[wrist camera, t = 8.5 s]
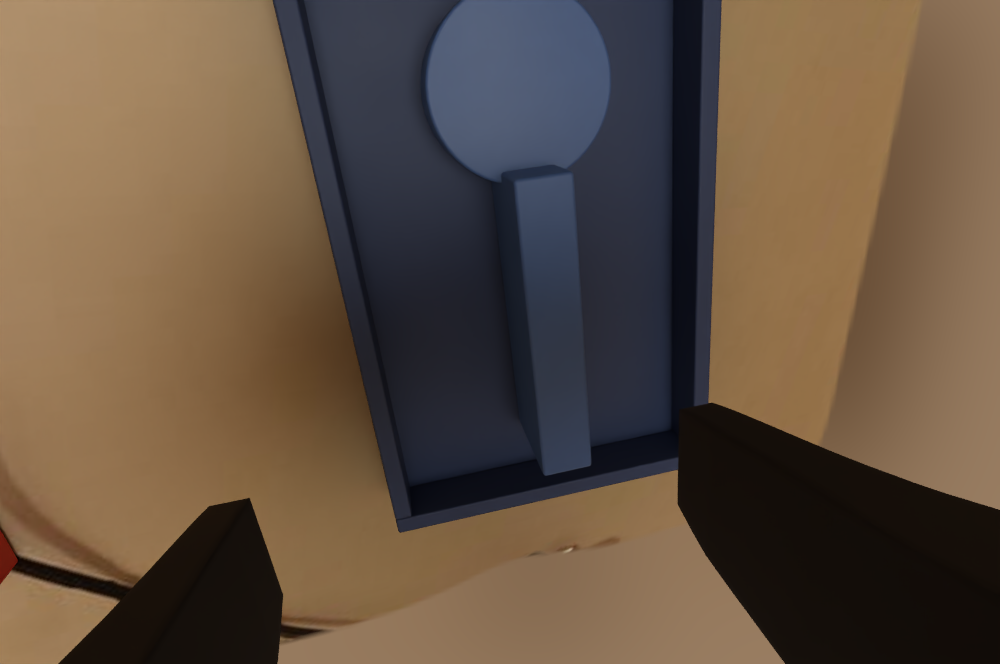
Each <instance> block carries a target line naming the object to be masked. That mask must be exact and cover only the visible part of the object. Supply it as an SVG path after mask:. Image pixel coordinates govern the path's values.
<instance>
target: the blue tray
mask: <svg viewBox="0 0 1000 664" xmlns="http://www.w3.org/2000/svg"><path fill="white" fill-rule="evenodd" d="M459 1H460V0H273V4H274V8H275V12H276V16H277V21H278V25H279V29H280V33H281V37H282V42H283V46H284V50H285V54H286V59H287V63H288V67H289V71H290V75H291V80H292V84H293V88H294V92H295V97H296V101H297V105H298V109H299V113H300V118H301V122H302V126H303V130H304V135H305V139H306V143H307V147H308V151H309V156H310V160H311V164H312V168H313V173H314V177H315V181H316V185H317V189H318V194H319V198H320V202H321V206H322V211H323V215H324V219H325V223H326V227H327V232H328V236H329V240H330V244H331V249H332V253H333V257H334V261H335V265H336V270H337V274H338V278H339V282H340V287H341V291H342V295H343V299H344V303H345V308H346V312H347V316H348V320H349V325H350V329H351V333H352V337H353V341H354V346H355V350H356V354H357V358H358V363H359V367H360V371H361V375H362V379H363V384H364V388H365V392H366V396H367V401H368V405H369V409H370V413H371V417H372V422H373V426H374V430H375V434H376V439H377V443H378V447H379V451H380V455H381V460H382V464H383V468H384V472H385V477H386V481H387V485H388V489H389V493H390V498H391V502H392V506H393V510H394V515H395V518H396V523H397V527H398V531H399V532H400V533H401V532H405V531H410V530H414V529H419V528H423V527H427V526H432V525H436V524H441V523H445V522H449V521H454V520H458V519H463V518H467V517H471V516H476V515H480V514H484V513H489V512H493V511H498V510H502V509H506V508H511V507H515V506H520V505H524V504H528V503H533V502H537V501H542V500H546V499H550V498H555V497H559V496H564V495H568V494H572V493H577V492H581V491H586V490H590V489H594V488H599V487H603V486H608V485H612V484H616V483H621V482H625V481H630V480H634V479H638V478H643V477H647V476H652V475H656V474H660V473H665V472H669V471H674V470H678V450H679V409H683V408H688V407H693V406H698V405H703V404H708V395H709V365H710V335H711V304H712V274H713V244H714V213H715V183H716V153H717V122H718V92H719V62H720V31H721V1H722V0H577V1H578V2H579V3H580V4H581V5H582V6H583V7H584V8H585V9H586V10H587V12H588V13H589V14H590V15H591V17H592V18H593V20H594V21H595V23H596V25H597V26H598V28H599V30H600V33H601V35H602V37H603V39H604V42H605V45H606V48H607V52H608V56H609V61H610V69H611V92H610V99H609V105H608V109H607V113H606V116H605V119H604V121H603V124H602V127H601V129H600V131H599V133H598V134H597V136H596V138H595V140H594V141H593V143H592V144H591V146H590V147H589V149H588V150H587V151H586V152H585V153H584V154H583V156H582V157H581V158H580V159H579V160H578V161H576V162H575V163H574V164H573V165H572V166H571V167H569V168H568V169H567V170H569V171H572V172H573V174H574V190H575V206H576V222H577V238H578V254H579V271H580V287H581V303H582V319H583V335H584V351H585V367H586V383H587V399H588V416H589V432H590V448H591V465H590V466H588V467H583V468H579V469H574V470H570V471H565V472H561V473H556V474H552V475H547V476H546V475H544V474H543V473H542V470H541V468H540V466H539V464H538V461H537V459H536V457H535V454H534V452H533V450H532V448H531V445H530V443H529V441H528V439H527V436H526V434H525V432H524V430H523V427H522V425H521V423H520V420H519V412H518V403H517V395H516V386H515V378H514V369H513V361H512V352H511V344H510V335H509V327H508V318H507V310H506V301H505V293H504V284H503V276H502V267H501V259H500V250H499V242H498V233H497V225H496V216H495V208H494V199H493V191H492V182H491V181H490V180H487V179H484V178H482V177H480V176H478V175H476V174H474V173H473V172H471V171H470V170H468V169H467V168H465V167H464V166H463V165H461V164H460V163H459V162H458V161H456V160H455V159H454V158H453V157H452V156H451V155H450V154H448V153H447V151H446V150H445V149H444V148H443V147H442V146H441V144H440V143H439V141H438V140H437V138H436V137H435V135H434V134H433V132H432V130H431V128H430V126H429V124H428V121H427V118H426V115H425V112H424V108H423V104H422V98H421V88H420V84H421V69H422V63H423V59H424V55H425V51H426V48H427V46H428V44H429V41H430V39H431V37H432V35H433V33H434V32H435V30H436V28H437V26H438V25H439V24H440V23H441V21H442V20H443V19H444V17H445V16H446V15H447V14H448V13H449V12H450V10H451V9H452V8H453V7H454V6H455V5H456V4H457V3H458V2H459Z"/></svg>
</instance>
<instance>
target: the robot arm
mask: <svg viewBox="0 0 1000 664" xmlns="http://www.w3.org/2000/svg"><path fill="white" fill-rule="evenodd" d="M678 506H679V508H680V509H681V511H682V513H683V515H684V517H685V519H686V521H687V523H688V524H689V526H690V528H691V530H692V532H693V534H694V535H695V537H696V539H697V541H698V542H699V544H700V546H701V548H702V549H703V551H704V553H705V555H706V556H707V557H708V559H709V560H710V562H711V563H712V565H713V566H714V567H715V569H716V570H717V571H718V573H719V574H720V576H721V577H722V578H723V580H724V581H725V582H726V584H727V585H728V587H729V588H730V589H731V591H732V592H733V594H734V595H735V596H736V598H737V599H738V600H739V602H740V603H741V604H742V606H743V607H744V609H745V610H746V611H747V613H748V614H749V615H750V617H751V618H752V619H753V621H754V622H755V623H756V625H757V626H758V627H759V629H760V630H761V632H762V633H763V634H764V636H765V637H766V638H767V640H768V641H769V642H770V644H771V645H772V646H773V648H774V649H775V651H776V652H777V653H778V655H779V656H780V657H781V658H782V660H783V661H784V663H785V664H1000V510H998V509H995V508H992V507H988V506H985V505H981V504H978V503H975V502H972V501H969V500H965V499H962V498H958V497H955V496H952V495H949V494H946V493H942V492H940V491H937V490H934V489H931V488H928V487H925V486H922V485H919V484H916V483H913V482H911V481H908V480H905V479H902V478H899V477H897V476H894V475H892V474H889V473H886V472H883V471H881V470H878V469H875V468H872V467H870V466H867V465H864V464H862V463H860V462H857V461H854V460H852V459H849V458H846V457H844V456H842V455H839V454H837V453H834V452H832V451H829V450H827V449H824V448H822V447H820V446H817V445H815V444H812V443H810V442H808V441H805V440H803V439H801V438H798V437H796V436H794V435H791V434H789V433H786V432H784V431H782V430H779V429H777V428H775V427H772V426H770V425H768V424H765V423H763V422H761V421H758V420H756V419H753V418H751V417H749V416H746V415H744V414H741V413H739V412H736V411H734V410H731V409H729V408H726V407H723V406H720V405H717V404H714V403H708V404H703V405H698V406H693V407H688V408H683V409H679V450H678ZM282 603H283V593H282V590H281V587H280V585H279V582H278V579H277V576H276V573H275V570H274V567H273V564H272V561H271V559H270V556H269V553H268V550H267V547H266V544H265V541H264V538H263V535H262V532H261V530H260V527H259V524H258V521H257V518H256V515H255V512H254V509H253V506H252V504H251V501H250V498H247V499H242V500H237V501H232V502H228V503H223V504H218V505H213V506H209V507H208V508H207V509H206V510H205V511H204V512H203V513H202V514H201V515H200V516H199V517H198V518H197V519H196V520H195V521H194V522H193V523H192V524H191V525H190V526H189V527H188V528H187V529H186V531H185V532H184V533H183V534H182V535H181V536H180V537H179V538H178V539H177V540H176V541H175V542H174V544H173V545H172V546H171V547H170V548H169V549H168V550H167V551H166V552H165V553H164V554H163V556H162V557H161V558H160V559H159V560H158V561H157V562H156V563H155V564H154V565H153V567H152V568H151V569H150V570H149V571H148V572H147V573H146V574H145V575H144V576H143V577H142V578H141V579H140V580H139V581H138V583H137V584H136V585H135V586H134V587H133V588H132V589H131V590H130V591H129V592H128V593H127V594H126V595H125V596H124V598H123V599H122V600H121V601H120V602H119V603H118V604H117V605H116V606H115V607H114V608H113V609H112V610H111V611H110V613H109V614H108V615H107V616H106V617H105V618H104V619H103V620H102V621H101V622H100V623H99V624H98V625H97V626H96V627H95V628H94V629H93V630H92V631H91V632H90V633H89V634H88V635H87V636H86V637H85V638H84V639H83V640H82V641H81V642H80V643H79V644H78V645H77V646H76V647H75V648H74V649H73V650H72V651H71V652H70V653H69V654H68V655H67V656H66V657H65V658H64V659H63V660H62V661H61V662H60V663H59V664H277V662H278V653H279V642H280V632H281V618H282Z"/></svg>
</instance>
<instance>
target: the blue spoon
mask: <svg viewBox="0 0 1000 664" xmlns="http://www.w3.org/2000/svg"><path fill="white" fill-rule="evenodd" d="M420 88H421V98H422V104H423V108H424V112H425V115H426V118H427V121H428V124H429V126H430V128H431V130H432V132H433V134H434V135H435V137H436V138H437V140H438V141H439V143H440V144H441V146H442V147H443V148H444V149H445V150H446V151H447V153H448V154H450V155H451V156H452V157H453V158H454V159H455V160H456V161H458V162H459V163H460V164H461V165H463V166H464V167H465V168H467V169H468V170H470V171H471V172H473V173H474V174H476V175H478V176H480V177H482V178H484V179H487V180H490V181H491V182H492V191H493V199H494V208H495V216H496V225H497V233H498V242H499V250H500V259H501V267H502V276H503V284H504V293H505V301H506V310H507V318H508V327H509V335H510V344H511V352H512V361H513V369H514V378H515V386H516V395H517V403H518V412H519V420H520V423H521V425H522V427H523V430H524V432H525V434H526V436H527V439H528V441H529V443H530V445H531V448H532V450H533V452H534V454H535V457H536V459H537V461H538V464H539V466H540V468H541V470H542V473H543V474H544V475H546V476H547V475H552V474H556V473H561V472H565V471H570V470H574V469H579V468H583V467H588V466H590V465H591V448H590V432H589V416H588V399H587V383H586V367H585V351H584V335H583V319H582V303H581V287H580V271H579V254H578V238H577V222H576V206H575V190H574V174H573V172H572V171H569V170H567V169H568V168H569V167H571V166H572V165H573V164H574V163H575V162H576V161H578V160H579V159H580V158H581V157H582V156H583V154H584V153H585V152H586V151H587V150H588V149H589V147H590V146H591V144H592V143H593V141H594V140H595V138H596V136H597V134H598V133H599V131H600V129H601V127H602V124H603V121H604V119H605V116H606V113H607V109H608V105H609V99H610V92H611V69H610V61H609V56H608V52H607V48H606V45H605V42H604V39H603V37H602V35H601V33H600V30H599V28H598V26H597V25H596V23H595V21H594V20H593V18H592V17H591V15H590V14H589V13H588V12H587V10H586V9H585V8H584V7H583V6H582V5H581V4H580V3H579V2H578V1H577V0H460V1H459V2H458V3H457V4H456V5H455V6H454V7H453V8H452V9H451V10H450V12H449V13H448V14H447V15H446V16H445V17H444V19H443V20H442V21H441V23H440V24H439V25H438V26H437V28H436V30H435V32H434V33H433V35H432V37H431V39H430V41H429V44H428V46H427V48H426V51H425V55H424V59H423V63H422V69H421V84H420Z"/></svg>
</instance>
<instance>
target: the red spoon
mask: <svg viewBox="0 0 1000 664" xmlns="http://www.w3.org/2000/svg"><path fill="white" fill-rule="evenodd" d="M17 561H18V559H17V557H16V556H15V554H14V552H13V551H12V549H11V547H10V545H9V544H8V542H7V540H6V539H5V537H4V535H3V533H2V532H1V530H0V584H1V583H2V581H3V580H4V579H5V578H6V576H7V575H8V574H9V572H10V571H11V570H12V568H13V567H14V566H15V565H16V563H17Z"/></svg>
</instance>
